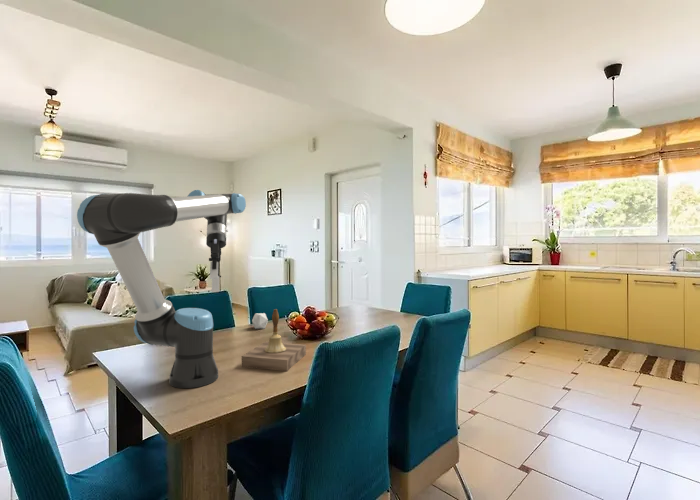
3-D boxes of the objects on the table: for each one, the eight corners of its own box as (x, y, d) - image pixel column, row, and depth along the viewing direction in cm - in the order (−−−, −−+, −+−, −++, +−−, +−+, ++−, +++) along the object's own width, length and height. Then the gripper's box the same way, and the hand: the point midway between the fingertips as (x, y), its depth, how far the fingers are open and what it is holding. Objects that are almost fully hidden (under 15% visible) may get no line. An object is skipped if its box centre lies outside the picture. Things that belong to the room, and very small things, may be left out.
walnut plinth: (287, 371, 132) (287, 360, 132) (241, 366, 136) (241, 356, 136) (305, 354, 152) (305, 344, 151) (265, 351, 156) (265, 341, 155)
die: (261, 332, 191) (271, 315, 194) (247, 323, 191) (257, 307, 194) (262, 333, 198) (271, 318, 202) (248, 326, 198) (258, 310, 202)
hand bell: (261, 348, 145) (261, 308, 145) (281, 346, 149) (281, 306, 149) (268, 354, 138) (268, 312, 138) (289, 351, 142) (289, 310, 142)
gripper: (225, 220, 140) (224, 271, 130) (226, 250, 161) (225, 296, 152) (204, 220, 138) (201, 272, 128) (208, 250, 159) (205, 296, 149)
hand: (214, 285), depth 140 cm, fingers open, 13 cm apart
